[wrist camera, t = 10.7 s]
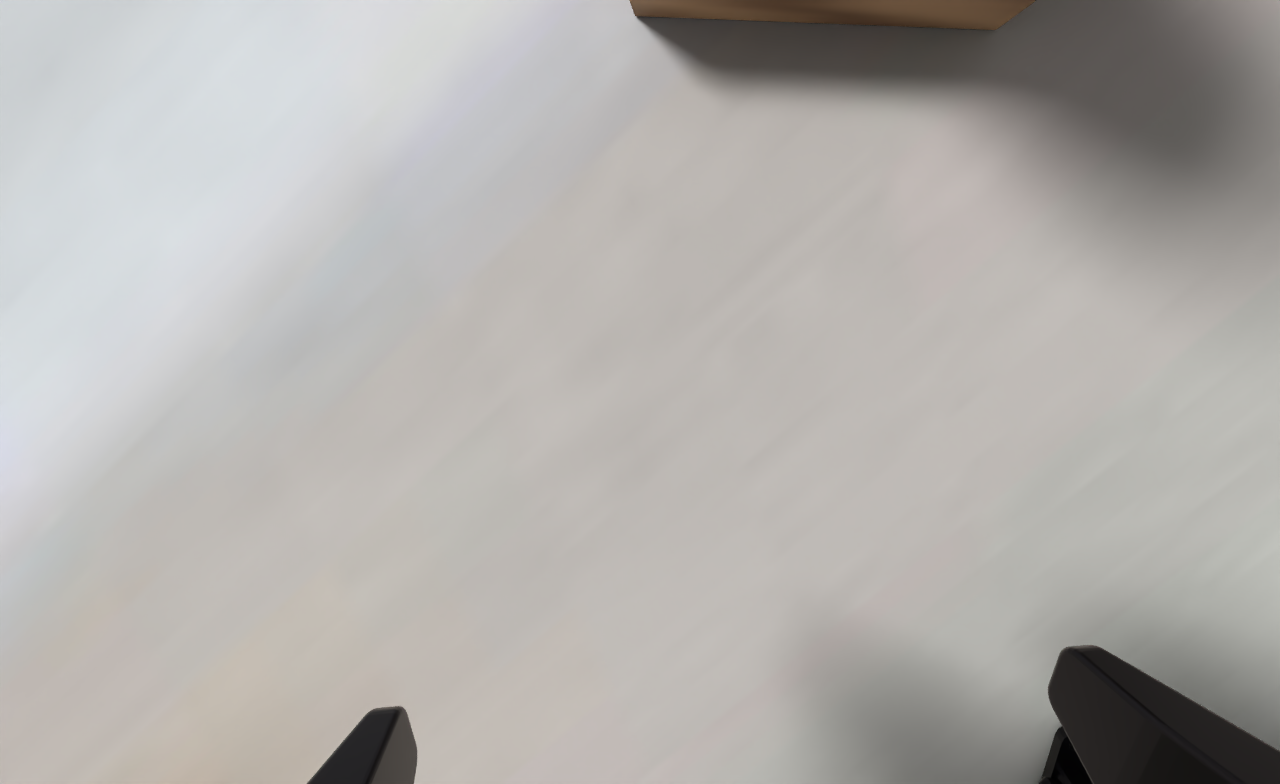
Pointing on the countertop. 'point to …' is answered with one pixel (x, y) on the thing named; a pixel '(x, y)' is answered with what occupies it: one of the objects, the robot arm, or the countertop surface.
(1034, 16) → the countertop surface
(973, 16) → the walnut base
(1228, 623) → the countertop surface
